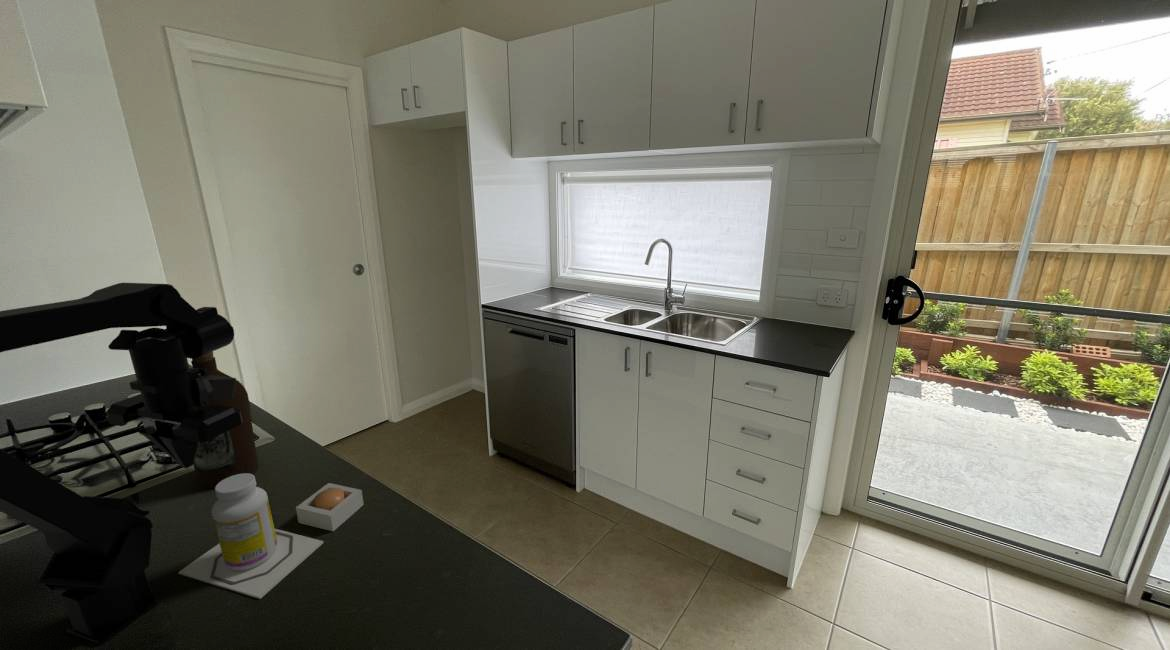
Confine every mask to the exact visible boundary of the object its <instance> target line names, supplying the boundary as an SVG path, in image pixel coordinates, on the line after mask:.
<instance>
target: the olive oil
mask: <svg viewBox="0 0 1170 650" xmlns="http://www.w3.org/2000/svg"><path fill="white" fill-rule="evenodd" d="M190 364H191V366H192V367H191V368H200V369H206V370H207V372H208V375H218V376H225V377H231V376H230V375H228V374H226V373H224V372H222V371H221V370H220V369H218V366H217V361H216V357H214V351H212V352H210V353H207V354H205V355H203V356H200V357H198V358H193V359H191V362H190ZM209 401H210V403H208V404H206V405H204V406H198V407H196V408H202V409H206V408H209V407H211V406H213V405H221V406H227V407H233V408H235V409H238V410H240V412H241V416H242V421H243V422H242V424H241V425H239V426H237V427H235V428H233V429H231V430H229V431H227V432H225V433H223V434H221V435H219V436H217V437H215V438H213V439H210V440H208V441H205V442H198V445H197V449H196V454H195V459H194V464H193V465H192V466H193V469H194V472H195V475H196V478H197V482H198V484H199V486H201V487H203V488H206V489H215V487H216V485H217V484H218V483H219V482H221V481H222V480H224V479H226V478H228V477H230V476H233V475H237V474H243V473H249V474H252V475H254V474H255V473H256V472H257V471H258V469H259V459H258V452H257V448H256V447H257V446H256V442H255V435H254V429H253V428H254V426H253V422H252V415H251V408H250V407H251V406H250V400H249V395H248V391H247V389H246V388H245V386H244V385H243V383H241V382H240V381H239V380H238V379H236V384H235V391H234V398H230V399H227V398H214V399H209Z"/></svg>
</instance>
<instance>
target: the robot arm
mask: <svg viewBox="0 0 1170 650" xmlns="http://www.w3.org/2000/svg"><path fill="white" fill-rule="evenodd" d="M162 327H165V328H162ZM115 328H116V329H118V328H146V329H143V330H140V331H138V330H137V329H135V330H134V329H121V330H120V331H119V333H118V335H117V336H116V337H115V338H114V339H112V340H111V342H110V343H109V344H108V347H107V348H108V349H109V350H114V351H115V350H116V351H128V353H129V355H130V359H131V363H132V367H133V371H134V374H135V378H136V380H133V381H130V382H129V386H130V389H131V390H134V391H139V392H140V394H139V393H138V394H137V395H133V396H130V397H128V398H125V399H122V400H119V401H117V402H113V403H112V404H111V405H110V406H109V407H108V409H107V410H106V417H107V421H108V423H109V425H114V426H119V427H123V426H126V425H128V423H129V421H130V419H129V418H130V417H132V416H135V415H138V420H139V421H142V424H143V428H141V429H139V430H138V433H139V435H142V436H144V437H145V438H146V439H147V440H148V441H150V442H151V443H153V444H154V445H155V446H156V447H158V449H160V450H161V451H163V452H164V453H165V454H166V455H167V456H168V457H170V459H172V460H173V461H174V462H175V463H176V464H178V466H180V467H181V468H183V469H188V468H190V467H192V466H194V465H193V464H194V459H195V454H196V449H197V445H198V442H205V441H208V440H210V439H213V438H215V437H217V436H219V435H221V434H223V433H225V432H227V431H229V430H231V429H233V428H235V427H237V426H239V425H241V424H242V422H243V421H242V416H241V412H240V410H238V409H235V408H233V407H227V406H221V405H213V406H211V407H209V408H206V409H202V408H196V407H198V406H204V405H206V404H208V403H210V401H209V399H214V398H227V399H230V398H234V391H235V384H236V380H237V378H236V377H232V376H230V377H225V376H218V375H208V372H207V370H206V369H200V368H193V367H191V368H190V365H189V361H188V359H191V360H192V359H193V358H198V357H200V356H203V355H205V354H207V353H210V352H212V351H213V352H214V351H217V350H219V349H222V348H224V347H227V346H228V345H230V344H231V343H232V342H233V340H234V337H235V329H234V327H233V326H232V325H231V323H230V322H229V320H228V319H227V318H225V317H224V316H222V315H220V314H219V313H218V308H217V307H216V306H202V307H199V308H197V309H195V308H194V307H193V306H192V305H191V304H190V303H189V302H188V301H186V300H185V299H184V298H183V297H182V296H181V294H180V292H179V291H178V290H177V288H175V286H174V285H172V284H170V283H148V282H145V283H143V282H119V283H116V284H111V285H109V286H106V287H103V288H100V289H96V290H94V291H93V292H91V294H89V295H87V296H84V297H80V298H78V299H77V298H76V299H70V300H64V301H58V302H51V303H44V304H37V305H31V306H30V305H29V306H26V307H20V308H19V307H18V308H11V309H5V310H0V353H3V352H8V351H13V350H17V349H22V348H26V347H31V346H35V345H40V344H44V343H49V342H53V341H57V340H62V339H68V338H72V337H75V336H81V335H86V334H89V333H95V332H99V331H103V330H108V329H115ZM0 512H1V513H3V514H5V515H6V516H9V517H11V518H13V519H15V520H17V521H19V522H22V523H24V524H25V525H28V526H29V527H32V528H34V529H36V530H38V531H40V532H42V533H43V534H44V537H45V541H46V546H47V547H48V548H49V549H51V550H52V551H53V552H54V553H53V555H52V556H51V558H50V560H49V562H48V564H47V566H46V567H45V569H44V571H43V573H42V575H41V577H40V579H39V580H38V583H39V585H41V586H42V587H43V588H45V589H46V590H49V591H63V592H61V594H60V596H61V599H62V601H63V604H64V606H65V609H66V612H67V614H68V616H69V619H70V623H69V624H68V625H67V626H66V627H65V631H66V632H67V633H70V634H72V635H74V636H78V637H80V638H83V639H85V640H88V641H90V642H93V643H96V644H99V643H100V644H103V643H105V642H107V641H108V640H109V639H110V638H112V637H113V636H114V635H117V633H119V632H120V631H121V630H123V629H125V627H127V626H128V625H130V624H131V623H132V622H134V621H135V620H136V619H138V618H139V617H141V616H142V615H143V614H144V613H146V612H147V611H149V610H150V609H151V608H152V607H154V606H156V605H157V604H158V602H159V601H158V598H157V597H155V596H152V595H151V593H152V588H151V586H150V585H151V584H150V582H149V579H148V575H147V572H146V569H147V568H148V567H149V566H150V558H151V557H150V555H151V546H152V535H153V533H152V529H153V527H154V524H153V522H152V520H151V519H150V518H149V517H147V515H149V514H150V511H149V510H142V509H140V508H138V506H136V505H135V503H134V502H133V501H131V500H130V499H128V498H125V497H124V498H123V497H122V498H121V497H120V498H119V497H106V496H92V495H91V496H89V495H84V496H81V495H80V494H79V493H76V492H75V491H73V490H72V489H70V488H69V487H66V486H65V485H63V484H62V483H60V482H58V481H57V480H54V479H53V478H51V477H50V476H48V475H46V474H44V473H43V472H41V471H39V470H38V469H36V468H34V467H32V466H31V465H29V464H27V462H24V461H22V460H21V459H19V458H17V457H16V456H14V455H12V454H10V453H9V452H7V451H5V450H3V449H2V448H0ZM100 644H99V645H100Z"/></svg>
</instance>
